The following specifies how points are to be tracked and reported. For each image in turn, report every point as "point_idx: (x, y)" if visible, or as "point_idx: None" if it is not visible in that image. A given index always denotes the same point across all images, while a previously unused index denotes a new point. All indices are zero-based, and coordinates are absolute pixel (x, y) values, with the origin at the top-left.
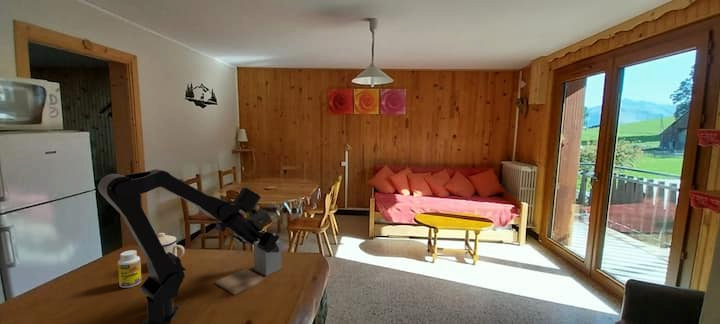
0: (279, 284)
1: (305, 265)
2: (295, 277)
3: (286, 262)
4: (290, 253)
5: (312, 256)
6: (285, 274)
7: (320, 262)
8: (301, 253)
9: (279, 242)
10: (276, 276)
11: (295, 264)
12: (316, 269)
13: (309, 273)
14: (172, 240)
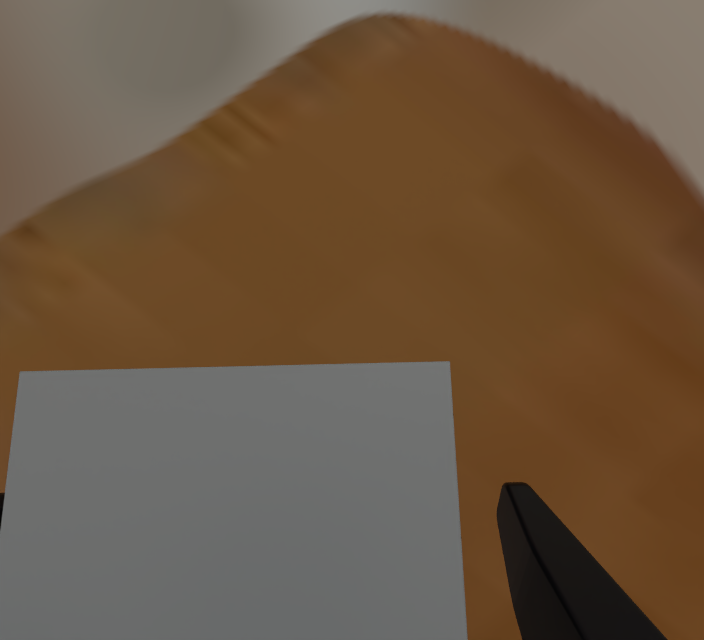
0: (652, 618)
1: (514, 209)
2: (643, 422)
3: (327, 279)
4: (204, 136)
5: (416, 56)
6: (523, 445)
7: (566, 90)
8: (288, 76)
9: (451, 409)
10: (493, 531)
11: (427, 253)
12: (651, 199)
13: (670, 288)
14: None
